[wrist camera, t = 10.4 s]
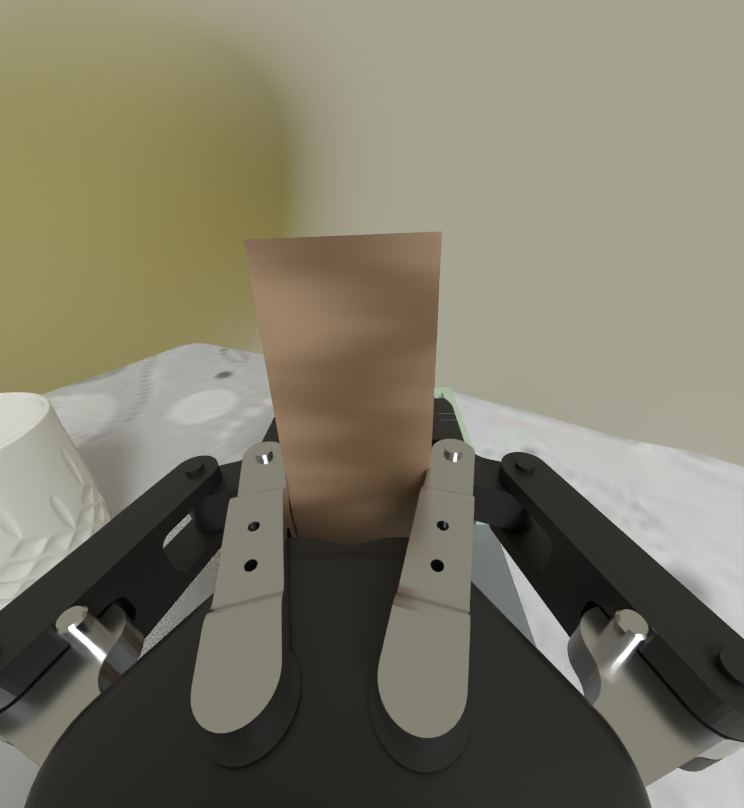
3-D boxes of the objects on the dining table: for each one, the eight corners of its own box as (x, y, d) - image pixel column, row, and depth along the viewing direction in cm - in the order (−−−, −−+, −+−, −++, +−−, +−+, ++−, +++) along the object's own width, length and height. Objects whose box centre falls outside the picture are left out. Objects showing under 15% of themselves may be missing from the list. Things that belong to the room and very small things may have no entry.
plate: (141, 884, 10) (112, 879, 9) (258, 544, 21) (251, 523, 20) (597, 899, 10) (622, 895, 9) (487, 543, 20) (492, 521, 19)
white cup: (-35, 573, 20) (-193, 440, 14) (118, 498, 24) (41, 377, 19) (-44, 691, 15) (-287, 556, 10) (150, 570, 19) (58, 433, 14)
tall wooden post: (316, 650, 13) (243, 240, 7) (331, 561, 16) (292, 243, 10) (422, 651, 12) (441, 231, 7) (413, 561, 16) (420, 238, 10)
